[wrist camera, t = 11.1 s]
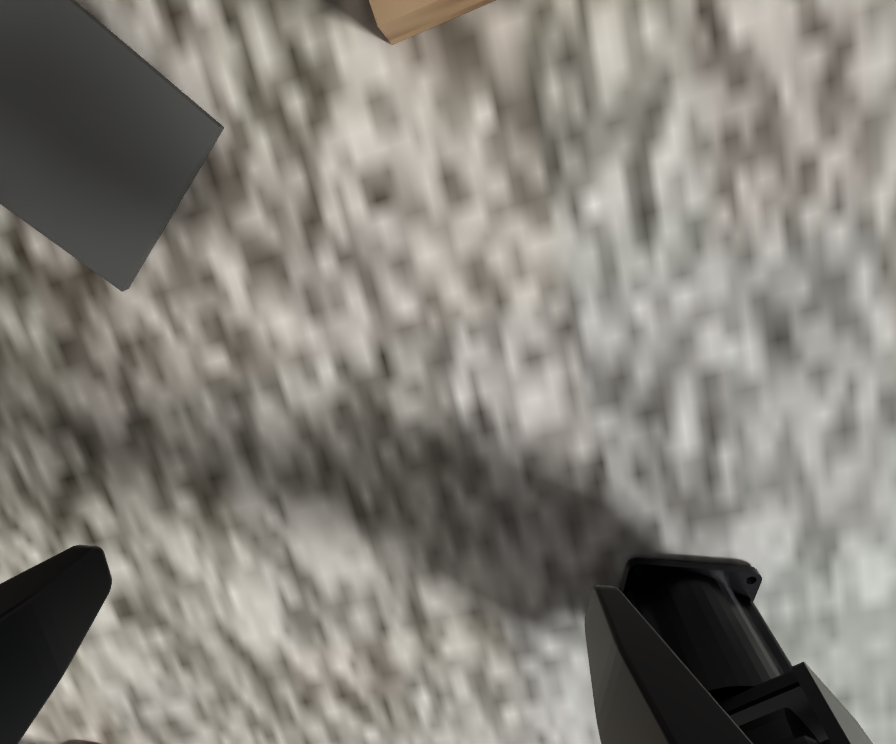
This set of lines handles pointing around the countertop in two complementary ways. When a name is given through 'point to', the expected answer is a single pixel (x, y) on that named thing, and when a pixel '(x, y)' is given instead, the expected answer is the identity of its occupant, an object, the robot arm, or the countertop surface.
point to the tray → (417, 15)
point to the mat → (92, 137)
